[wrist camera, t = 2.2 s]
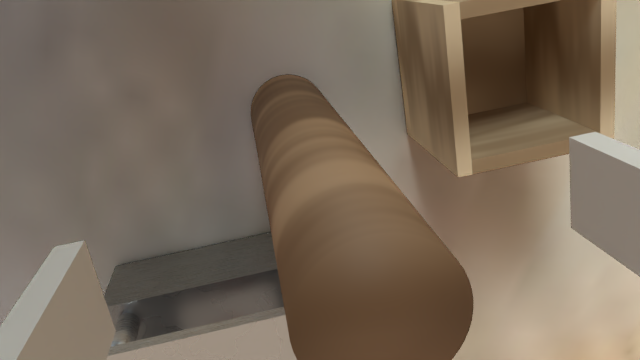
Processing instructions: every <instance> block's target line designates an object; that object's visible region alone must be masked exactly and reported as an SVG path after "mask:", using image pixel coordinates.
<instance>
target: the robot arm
mask: <svg viewBox="0 0 640 360" xmlns="http://www.w3.org/2000/svg"><path fill="white" fill-rule="evenodd" d="M569 154H570V202H571V228H572V229H573V230H575V231H576V232H578V233H579V234H580V235H582V236H583V237H585V238H586V239H588V240H589V241H590V242H592V243H593V244H595V245H596V246H597V247H599V248H600V249H602V250H603V251H604V252H606V253H607V254H609V255H610V256H611V257H613V258H614V259H616V260H617V261H619V262H620V263H621V264H623V265H624V266H626V267H627V268H628V269H630V270H631V271H633V272H634V273H635V274H637V275H638V276H640V149H638V148H635V147H633V146H630V145H628V144H625V143H623V142H620V141H618V140H615V139H612V138H610V137H607V136H605V135H602V134H600V133H597V132H591V133H587V134H582V135H577V136H573V137H569ZM115 332H116V330H115V327H114V324H113V321H112V318H111V316H110V313H109V310H108V307H107V304H106V301H105V298H104V295H103V292H102V289H101V286H100V283H99V281H98V278H97V275H96V272H95V269H94V266H93V263H92V260H91V257H90V254H89V251H88V248H87V246H86V243H85V240H83V241H79V242H74V243H69V244H64V245H60V246H55V247H54V248H53V249H52V251H51V252H50V254H49V255H48V257H47V258H46V259H45V261H44V262H43V264H42V265H41V267H40V268H39V270H38V271H37V273H36V274H35V276H34V277H33V279H32V280H31V282H30V283H29V285H28V286H27V288H26V289H25V291H24V292H23V294H22V295H21V296H20V298H19V299H18V301H17V302H16V304H15V305H14V307H13V308H12V310H11V311H10V313H9V314H8V316H7V317H6V319H5V320H4V322H3V323H2V325H1V326H0V360H106V359H107V356H108V353H109V350H110V347H111V344H112V341H113V338H114V335H115Z"/></svg>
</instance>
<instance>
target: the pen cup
mask: <svg viewBox="0 0 640 360" xmlns="http://www.w3.org/2000/svg"><path fill="white" fill-rule="evenodd" d="M392 6H393V15H394V23H395V32H396V40H397V49H398V57H399V66H400V74H401V83H402V91H403V100H404V108H405V117H406V125H407V134H408V135H409V136H410V137H412V138H413V139H414V140H415V141H416V142H417V143H419V144H420V145H421V146H422V147H423V148H424V149H426V150H427V151H428V152H429V153H430V154H431V155H432V156H434V157H435V158H436V159H437V160H438V161H439V162H441V163H442V164H443V165H444V166H445V167H446V168H447V169H449V170H450V171H451V172H452V173H453V174H454V175H456V176H457V177H458V178H459V177H464V176H468V175H473V174H477V173H482V172H487V171H491V170H496V169H501V168H505V167H510V166H514V165H519V164H524V163H528V162H533V161H538V160H542V159H547V158H551V157H556V156H561V155H565V154H569V137H573V136H577V135H582V134H587V133H591V132H597V133H600V134H602V135H605V136H607V137H610V138H612V139H614V119H615V57H616V0H392Z"/></svg>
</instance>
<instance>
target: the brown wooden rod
mask: <svg viewBox="0 0 640 360" xmlns="http://www.w3.org/2000/svg"><path fill="white" fill-rule="evenodd" d="M251 119H252V125H253V131H254V137H255V142H256V148H257V154H258V160H259V165H260V171H261V177H262V183H263V188H264V194H265V200H266V206H267V211H268V217H269V223H270V229H271V234H272V240H273V246H274V252H275V258H276V263H277V269H278V275H279V281H280V286H281V292H282V298H283V304H284V309H285V315H286V321H287V327H288V332H289V338H290V343H291V346H292V349H293V352H294V354H295V356H296V358H297V360H452V359H453V357H454V356H455V354H456V353H457V352H458V350H459V349H460V347H461V345H462V344H463V342H464V340H465V338H466V336H467V333H468V331H469V328H470V324H471V321H472V314H473V295H472V288H471V285H470V282H469V279H468V277H467V275H466V273H465V271H464V269H463V268H462V266H461V265H460V263H459V262H458V261H457V259H456V258H455V257H454V256H453V254H452V253H451V252H450V251H449V249H448V248H447V247H446V246H445V245H444V243H443V242H442V241H441V240H440V238H439V237H438V236H437V235H436V234H435V232H434V231H433V230H432V229H431V227H430V226H429V225H428V224H427V222H426V221H425V220H424V219H423V218H422V216H421V215H420V214H419V213H418V211H417V210H416V209H415V208H414V206H413V205H412V204H411V203H410V202H409V200H408V199H407V198H406V197H405V195H404V194H403V193H402V192H401V191H400V189H399V188H398V187H397V186H396V184H395V183H394V182H393V181H392V179H391V178H390V177H389V176H388V175H387V173H386V172H385V171H384V170H383V168H382V167H381V166H380V165H379V163H378V162H377V161H376V160H375V159H374V157H373V156H372V155H371V154H370V152H369V151H368V150H367V149H366V148H365V146H364V145H363V144H362V143H361V141H360V140H359V139H358V138H357V136H356V135H355V134H354V133H353V132H352V130H351V129H350V128H349V127H348V125H347V124H346V123H345V122H344V120H343V119H342V118H341V117H340V116H339V114H338V113H337V112H336V111H335V109H334V108H333V107H332V106H331V105H330V103H329V102H328V101H327V100H326V98H325V97H324V96H323V95H322V93H321V92H320V91H319V90H318V89H317V87H316V86H315V85H314V84H313V83H311V82H310V81H309V80H307V79H305V78H303V77H300V76H296V75H281V76H277V77H274V78H272V79H270V80H268V81H267V82H266V83H264V84H263V85H262V86H261V87H260V88H259V90H258V91H257V92H256V94H255V96H254V98H253V101H252V105H251Z"/></svg>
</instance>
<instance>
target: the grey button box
mask: <svg viewBox="0 0 640 360" xmlns="http://www.w3.org/2000/svg"><path fill="white" fill-rule="evenodd" d="M104 298H105V301H106V304H107V307H108V310H109V313H110V316H111V318H112V321H113V324H114V327H115V330H116V332H115V335H114V338H113V341H112V344H111V347H110V350H109V353H108V356H107V359H106V360H297V358H296V356H295V354H294V352H293V349H292V346H291V343H290V338H289V332H288V327H287V321H286V315H285V309H284V304H283V298H282V292H281V286H280V281H279V275H278V269H277V263H276V258H275V252H274V246H273V240H272V234H271V232H269V233H265V234H260V235H256V236H251V237H246V238H242V239H237V240H233V241H228V242H223V243H219V244H214V245H210V246H205V247H201V248H196V249H191V250H187V251H182V252H178V253H173V254H169V255H164V256H159V257H155V258H150V259H146V260H141V261H136V262H132V263H127V264H123V265H118V266H116V267H115V269H114V272H113V275H112V277H111V280H110V282H109V285H108V288H107V290H106V293H105V295H104Z"/></svg>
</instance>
